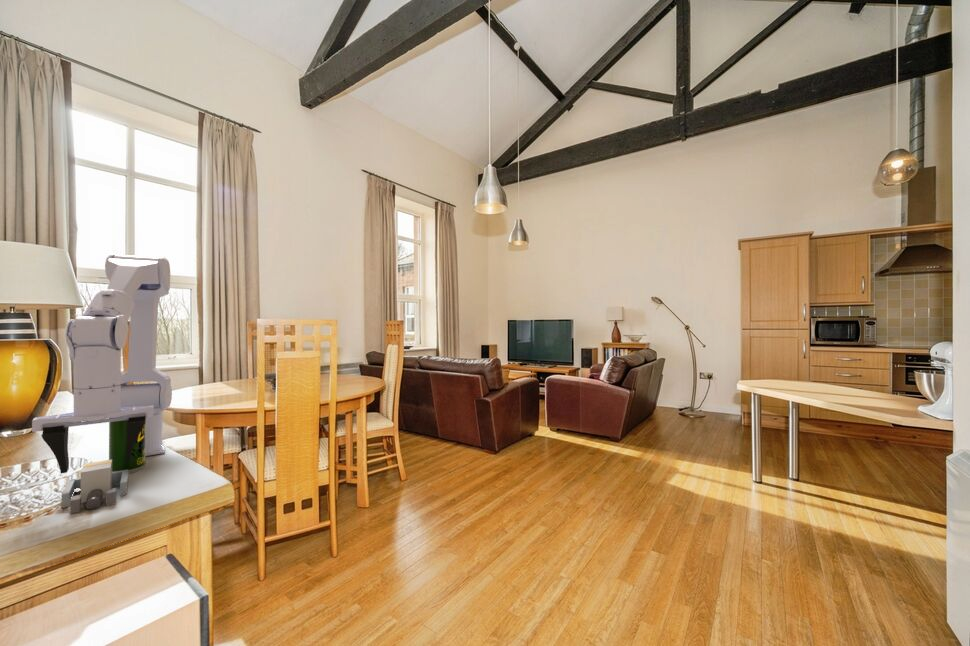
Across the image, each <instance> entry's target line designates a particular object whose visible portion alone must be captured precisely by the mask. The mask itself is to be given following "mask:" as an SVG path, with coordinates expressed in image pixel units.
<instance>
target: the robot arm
mask: <svg viewBox="0 0 970 646" xmlns="http://www.w3.org/2000/svg"><path fill="white" fill-rule="evenodd" d="M104 270H105V275H106V278H107V280H109V283H108V286H107V288H106V289H104V290H101V291H99V292H97V293H96V294H95V295H94V297H93V298H92V300H91V302H90V303H89V305H88V307H87V308H86V310H85V312H83V314H82V316H81V315H79V316H77V317H76V318H73V319H70V320H69V321H68V322H67V326H66V329H65V341H66V345H67V347H68V351H69V353H68V355H69V356H68V357H69V359H70V361H73V412H68V413H61V414H54V415H53V414H52V415H46V416H35V417H34V418H33V419H32V420H31V425H32V426H31V431H32V433H34V432H35V433H36V432H37V433H38V432H42V434H41V438H42V440H43V441H44V442H45V443H46V445H47V446H48V447H49V449H50V450H51V452H52V453H53V455H54V456H55V459H56V461H57V463H58V467H59V471H60V474H67V473H68V471H69V466H70V459H69V450H68V449H69V448H68V447H69V446H68V444H69V431H70V430H69V427H70V428H72V427H78V426H86V425H96V424H106V423H109V422H114V421H123V420H127V446H126V454H125V462H130V461H131V455H132V451H133V448H134V445H135V442H136V440H137V438H138V436H139V434H140V432H141V430H142V429H143V427H144V425H145V419H146V434H145V457H149V456H154V455H161V454H165V453H166V449H165V448H164V449H163V447H162V446H164V447H165V441H164V440H163V415H164V413H163V412H164V411H165V410H167V409H168V408H169V407H170V406H171V404H172V398H173V396H172V395H173V392H172V390H173V389H172V385H171V378H170V376H169V375H168V374H167V373H166V372H163V371H161V370H159V369H158V368H156V367H157V345H158V344H157V343H158V342H157V340H158V339H157V338H158V313H159V312H158V311H159V304H160V300H161V298H162V297H165V296H167V295H169V291H170V289H171V267H170V262H169V260H168V259H167V258H166V257H165V256H157V257H156V256H144V255H130V254H128V255H127V254H118V253H110V254H109V255H108V256H106V260H105V263H104ZM128 321H129V324H128ZM128 331H129V339H128V340H129V341H128V342H129V343H128V345H129V346H128V360H127V361H128V362H127V370H126V371H125V372H123V373H122V371H121V370H122V368H121V367H122V349H124V348H125V345H126V343H127V338H128ZM140 382H141V383H140ZM143 382H144V383H143ZM145 382H154V383H145ZM130 383H133V384H130ZM135 383H136V384H135ZM109 418H110V419H109ZM161 445H162V446H161Z"/></svg>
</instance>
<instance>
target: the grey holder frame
mask: <svg viewBox="0 0 970 646" xmlns="http://www.w3.org/2000/svg"><path fill="white" fill-rule="evenodd" d="M117 485H120V486H119V488H120V489H119V490H120V491H119V492H120V493H119V495H120V497H122V496H127V495H128V485H129V473H128V469H127V470H121V471H116V472H112V486H117ZM76 488H80V489H81V477H78V478H73V479H67V482H66V485H65V487H64V489H63V491H62V493H61V509H64V508H69V507H70V509H69V513H70V514H71V515H72V514H76V513H80V512H81V509H82V503H81V494H77V495H74V496H72V494H73V492H74V489H76ZM116 489H117V488H116V487H112V489H107V493H106V498H105V500H106V507H108V506H112V505H116V499H117V497H116V496H117V495H116V493H117V491H116ZM71 497H72V498H71Z"/></svg>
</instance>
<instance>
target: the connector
mask: <svg viewBox="0 0 970 646" xmlns="http://www.w3.org/2000/svg"><path fill="white" fill-rule="evenodd" d="M80 478H81V492H80V495H81V504H83V503H84V504H85V505H84V506H85V508H86V509H88V510H94V509H97V508H99V506H101V504H102V500H103V499H106V493H107V489H112V488H113V485H112V460H109V459H108V460H107V459H106V460H101V461H94V462H90V463H89V462H88V463H84V464H83V466H82V468H81V470H80Z"/></svg>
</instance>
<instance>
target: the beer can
mask: <svg viewBox="0 0 970 646" xmlns="http://www.w3.org/2000/svg"><path fill="white" fill-rule="evenodd" d="M108 419H110V418H108ZM108 423H109V424H108V425H109V426H108V428H109V429H108V460H112V472H116V471H121V470H127V469H128V474H132V473H136V472H139V471H141V470H142V469H144V467H145V465H146V456H145V434H146V419H145V425H144V427H143V429H142V430H141V432H140V434H139V436H138V438H137V440H136V442H135V445H134V448H133V451H132V455H131V461H130V462H125V454H126V446H127V420H123V421H114V422H108Z"/></svg>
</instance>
